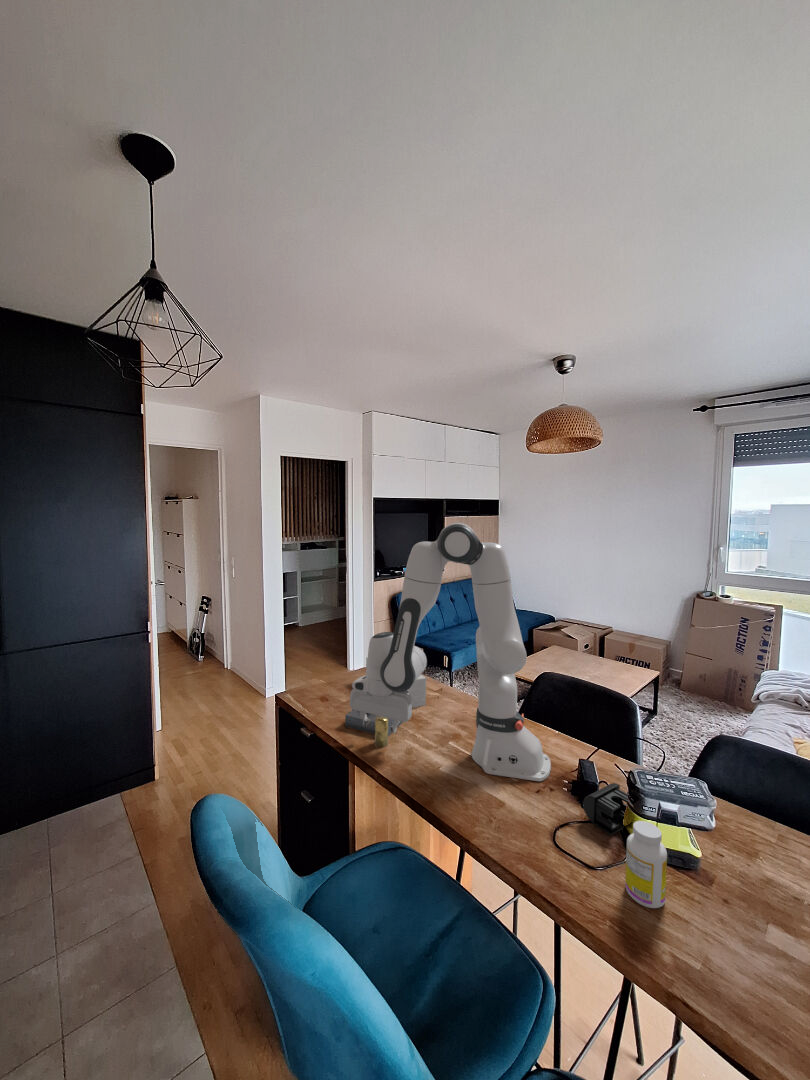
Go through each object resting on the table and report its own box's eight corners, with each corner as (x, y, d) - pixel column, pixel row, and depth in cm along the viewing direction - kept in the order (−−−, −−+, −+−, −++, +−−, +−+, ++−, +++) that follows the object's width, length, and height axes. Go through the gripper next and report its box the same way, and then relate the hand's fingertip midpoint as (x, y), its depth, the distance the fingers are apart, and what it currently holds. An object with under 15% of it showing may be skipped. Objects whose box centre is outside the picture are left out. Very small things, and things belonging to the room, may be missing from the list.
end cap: (606, 804, 109) (608, 778, 108) (634, 821, 103) (636, 793, 102) (581, 818, 103) (582, 790, 103) (609, 837, 97) (611, 807, 97)
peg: (389, 742, 137) (390, 717, 136) (384, 748, 133) (384, 722, 133) (378, 739, 138) (378, 714, 138) (372, 745, 135) (372, 720, 134)
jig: (404, 720, 152) (404, 709, 151) (387, 737, 140) (388, 725, 140) (364, 711, 158) (364, 700, 158) (345, 726, 146) (345, 715, 146)
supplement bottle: (651, 880, 86) (654, 816, 85) (673, 910, 79) (676, 841, 78) (618, 880, 85) (620, 817, 85) (637, 910, 79) (640, 842, 78)
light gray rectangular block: (425, 705, 165) (426, 677, 164) (400, 711, 160) (401, 682, 159) (388, 678, 193) (388, 653, 192) (365, 681, 188) (366, 657, 187)
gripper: (416, 687, 133) (414, 731, 134) (357, 675, 141) (356, 717, 142) (408, 694, 127) (406, 741, 128) (347, 682, 136) (346, 725, 136)
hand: (379, 728), depth 135 cm, fingers open, 8 cm apart
